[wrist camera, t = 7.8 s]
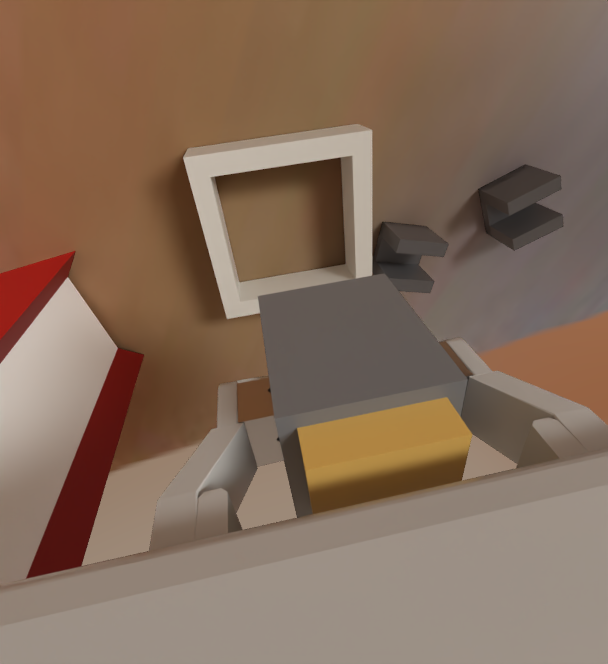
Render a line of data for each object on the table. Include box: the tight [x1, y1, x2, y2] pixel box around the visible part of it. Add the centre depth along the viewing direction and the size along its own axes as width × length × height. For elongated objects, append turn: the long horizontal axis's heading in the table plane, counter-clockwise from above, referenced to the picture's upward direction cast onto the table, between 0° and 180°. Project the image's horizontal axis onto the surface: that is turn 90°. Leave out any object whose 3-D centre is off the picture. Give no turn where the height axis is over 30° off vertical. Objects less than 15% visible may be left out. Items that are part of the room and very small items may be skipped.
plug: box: [258, 273, 472, 518], centre depth 10 cm, size 4×4×6 cm
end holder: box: [183, 124, 372, 319], centre depth 21 cm, size 9×9×2 cm
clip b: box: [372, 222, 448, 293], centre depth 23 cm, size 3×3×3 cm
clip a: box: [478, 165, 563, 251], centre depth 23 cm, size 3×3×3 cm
